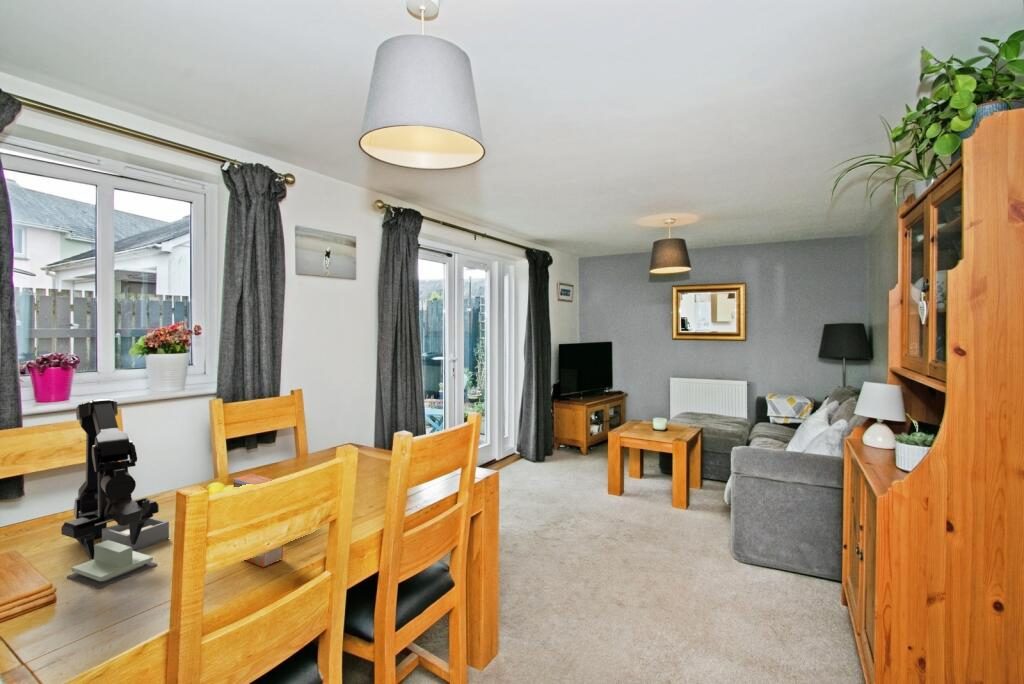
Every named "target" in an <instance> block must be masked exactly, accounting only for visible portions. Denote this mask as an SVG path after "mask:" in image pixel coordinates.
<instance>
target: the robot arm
mask: <svg viewBox="0 0 1024 684" xmlns="http://www.w3.org/2000/svg"><path fill="white" fill-rule="evenodd" d="M75 412H76V413H75V415H76V420H77V421H78V424H79V425H80V427H81V429H82V430H83V432H85V433H86V435H85V437H86V438H85V444H86V445H85V481H84V482H83V484H82V485H81V486H80V487H79V488H78V491H77V493H78V494H77V497H76V498H75V499H74V503H73V504H74V505H73V516H74V519H70V520H68V521H65V522H64V523H63V525H62V526H61V535H62V536H65V537H69V538H73V539H75V540H77V542H78V543H79V544H80V546H81V547H82V549H83V550H84V552H85V554H86V556H87V557H88V559H90V561H91V560H93V559H94V545H95V541H94V540H95V539H97V538H102V529H103V528H106V527H108V523H111V522H115V523H116V524H118V525H120V526H126V525H128V524H129V530H130V540H131V544H133V545H134V544H136V541H137V539H138V536H139V534H140V532H141V529H142V527H143V525H144V523H145V522H146V521H147V520H148V519H149V518H151V517H153V518H154V514H158V513H159V512H160V505H159V503H158V502H157V501H155V500H151V499H149V498H148V497H143V498H140V499H135V500H133V497H132V494H133V492H134V491H135V489H136V486H137V484H136V481H135V478H134V477H133V476H132V475H131V474H130V473H129V468H131V467H136V462H138V456H137V450H136V446H135V444H134V443H133V441H132V440H130V439H129V436H128V434H127V433H126V432H124V431H121V430H120V429H119V426H118V421H117V418H116V417H117V416H118V415H119V414H118V413H119V411H118V402H117V401H114V399H110V398H103V399H102V398H101V399H92V400H90V401H89V400H88V402H87V401H86V402H82V403H80V404H78V405H77V406H76V410H75Z"/></svg>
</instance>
